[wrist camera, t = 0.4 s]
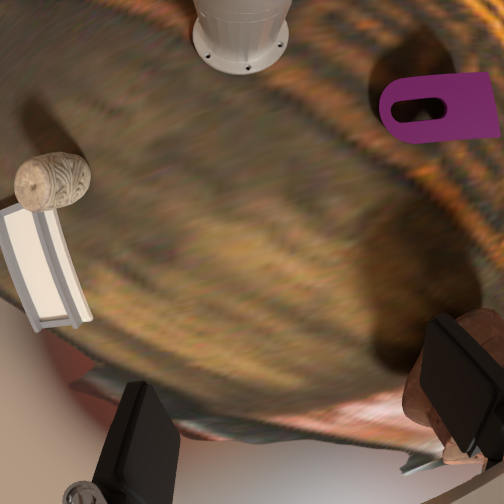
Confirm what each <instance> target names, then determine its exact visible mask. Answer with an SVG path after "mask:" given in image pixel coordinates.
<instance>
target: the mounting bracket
mask: <svg viewBox="0 0 504 504" xmlns="http://www.w3.org/2000/svg"><path fill="white" fill-rule="evenodd" d="M423 98H437V99H439V100H440V101H441V102H442V103H443V105H444V108H445V111H444V114H443V116H442V117H441V118H439V119H431V120H422V121H413V122H404V123H400V122H397V121H396V120H395V119H394V118H393V117H392V115H391V107H392V105H393V103H395V102H397V101H405V100H413V99H423ZM379 112H380V117H381V120H382V122H383V124H384V126H385V127H386V128H387V130H388V131H389V132H390V133H391V134H392V135H393V136H394V137H396V138H397V139H399V140H401V141H403V142H406V143H411V144H420V143H429V142H439V141H450V140H462V139H476V138H492V137H501V134H500V128H499V121H498V116H497V110H496V105H495V100H494V95H493V91H492V86H491V82H490V78H489V74H488V72H476V73H453V74H439V75H427V76H417V77H408V78H401V79H398V80H395V81H393V82H392V83H390V84H389V85H388V86H387V87H386V88H385V89H384V91H383V93H382V95H381V98H380V102H379Z"/></svg>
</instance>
